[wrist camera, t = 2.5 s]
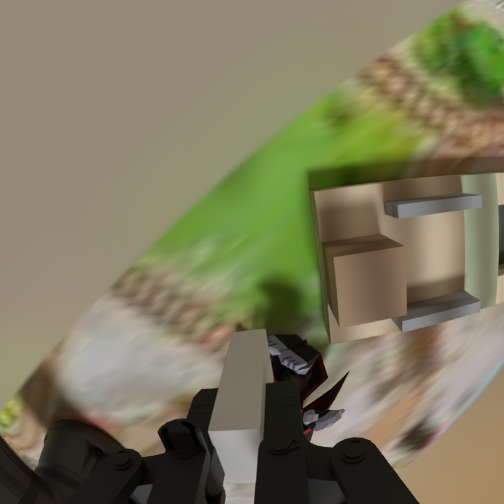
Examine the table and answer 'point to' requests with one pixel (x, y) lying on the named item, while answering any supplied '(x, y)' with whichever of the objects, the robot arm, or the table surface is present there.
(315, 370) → the toy
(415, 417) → the table surface
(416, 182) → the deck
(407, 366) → the table surface
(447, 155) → the table surface
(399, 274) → the block
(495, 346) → the table surface
